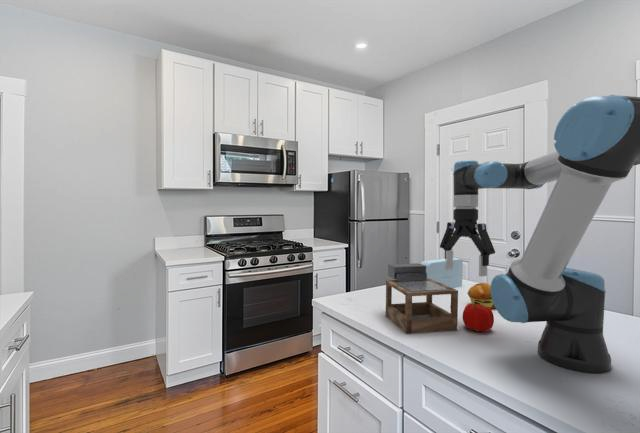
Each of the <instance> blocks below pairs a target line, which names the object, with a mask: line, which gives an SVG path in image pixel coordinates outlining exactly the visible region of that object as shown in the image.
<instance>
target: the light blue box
mask: <svg viewBox="0 0 640 433" xmlns="http://www.w3.org/2000/svg"><path fill="white" fill-rule="evenodd" d="M420 264H422V265H425V266H426V273H427V279H432V280H435V281H437V282H439V283H442V284H444V285H446V286H449V287H451V288H453V289H456V288H460V287H462V286H463V269H464V268H463V259H461V258H457V257H453V269H450V270H446V259H445V258H439V259H431V260H430V259H429V260H422V261H421V263H420Z"/></svg>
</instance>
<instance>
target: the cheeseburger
mask: <svg viewBox="0 0 640 433" xmlns="http://www.w3.org/2000/svg"><path fill="white" fill-rule="evenodd" d="M466 294H467V295H468V297H469V299H470V302H471V304H472V305H474V304H475V305H476V304H481V305H484V306H486V307H489V308H490V309H491V310H493V309H496V308H495V306H494V303H493V300H492V297H491V284H490V283H487V282H480V283H476V284H473V286H471V287H469V289H468V291H467V293H466Z"/></svg>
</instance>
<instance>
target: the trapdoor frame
mask: <svg viewBox="0 0 640 433" xmlns="http://www.w3.org/2000/svg"><path fill="white" fill-rule="evenodd" d="M412 281H431V282H434V283H436V284H438V285H440V286H443V287H445V288H447V289H449V290H434V291H414V292H410V291H408V290H406V289H404V288H403V287H401V286H399V285H397V284H396V283H395V282H409V281H396V279H393V280H391V279H390V280H388V279H387V280H386V281H385V317H387V318H388V319H389V320H390V321H392V322H393V324H395V325H396V326H397V327H398V328H399V329H401V331H403V332H404V333H406V334H410V335H411V334H422V333H423V334H424V333H433V332H434V333H435V332H436V333H437V332H446V331H448V332H449V331H458V322H459V321H458V316H459V315H458V314H459V312H458V311H459V310H458V309H459V308H458V306H459V290H458V289H456V288H451V287H449V286H446V285H444V284H442V283H439V282H437V281H435V280H432V279H427V280H412ZM392 289H394V290H396V291H398V292H400V293H402V294H403V295H404V297H405V302H400V303H392V301H393V299H392V298H393V297H392V293H393V292H392V291H393V290H392ZM442 295H443V296H444V295H450V312H449V311H447V310H445V309H444V308H442V307H441V306H438V305H437V304H435V303H433V296H442ZM421 296H422V297H423V296H424V297H426V298H425V301H423V302H422V301H421V302H413V297H421ZM422 315H428V316H429V317H418V318H417V317H416V318H413V316H422Z"/></svg>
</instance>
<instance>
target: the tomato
mask: <svg viewBox="0 0 640 433" xmlns="http://www.w3.org/2000/svg"><path fill="white" fill-rule="evenodd" d="M462 322H463V324H464V326H465V327H466V328H468V329H469V330H472V331H477V332H479V333H484V332H487V331H489V330H491V329H492V328H493V327H494V324H495V316H494V312H493V309H490V308H489V307H486V306H484V305H481V304H476V305H475V304H474V305H473V304H472V303H468V304H467V305H466V306H465V307H464V309H463V311H462Z"/></svg>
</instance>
